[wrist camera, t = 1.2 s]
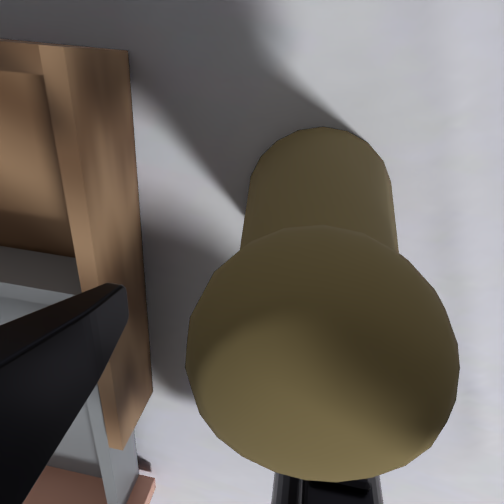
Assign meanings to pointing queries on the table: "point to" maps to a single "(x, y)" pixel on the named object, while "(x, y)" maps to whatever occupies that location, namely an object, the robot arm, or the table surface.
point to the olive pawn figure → (322, 322)
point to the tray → (91, 415)
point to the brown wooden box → (79, 191)
